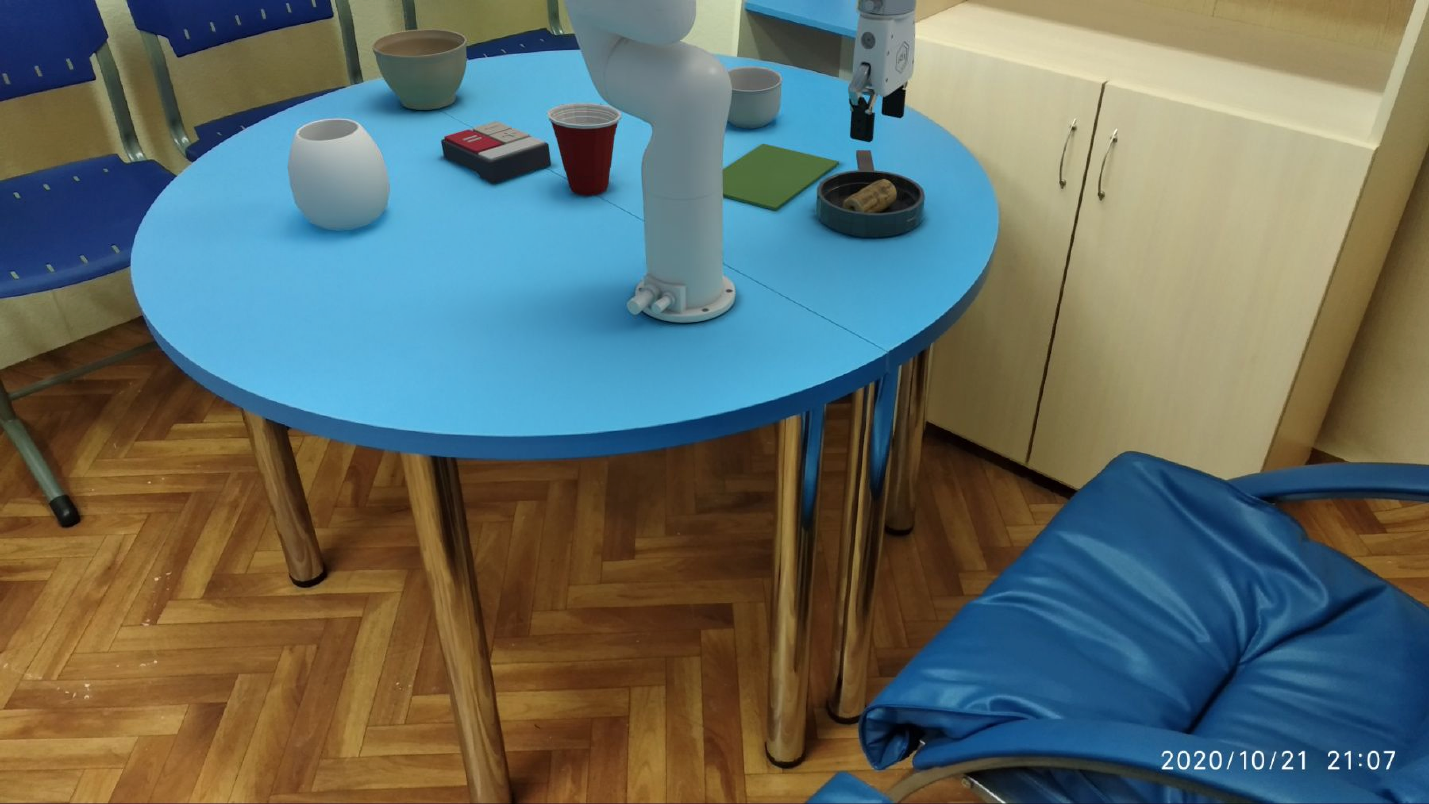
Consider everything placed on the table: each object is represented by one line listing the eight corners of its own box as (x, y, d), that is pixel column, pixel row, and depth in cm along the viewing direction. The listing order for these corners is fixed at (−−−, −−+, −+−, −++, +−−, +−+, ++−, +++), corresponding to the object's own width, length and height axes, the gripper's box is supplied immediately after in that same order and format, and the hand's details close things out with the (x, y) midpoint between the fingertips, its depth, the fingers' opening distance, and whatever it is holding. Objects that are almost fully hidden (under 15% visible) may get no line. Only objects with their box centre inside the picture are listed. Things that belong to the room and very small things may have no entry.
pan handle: (874, 178, 156) (874, 172, 156) (859, 178, 156) (859, 172, 156) (870, 156, 163) (870, 150, 162) (855, 156, 163) (856, 150, 163)
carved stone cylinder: (862, 226, 148) (864, 200, 146) (838, 217, 151) (840, 191, 148) (897, 208, 153) (900, 182, 151) (874, 199, 155) (876, 174, 153)
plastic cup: (640, 187, 160) (636, 110, 153) (587, 209, 154) (580, 131, 147) (593, 167, 166) (587, 93, 159) (539, 188, 160) (531, 112, 153)
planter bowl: (464, 118, 184) (455, 55, 178) (373, 118, 185) (360, 56, 178) (482, 87, 197) (474, 28, 191) (396, 87, 198) (385, 28, 191)
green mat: (775, 211, 153) (776, 207, 153) (695, 189, 159) (695, 186, 159) (839, 164, 167) (839, 161, 167) (763, 146, 173) (763, 143, 173)
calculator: (497, 118, 174) (549, 138, 165) (501, 143, 176) (552, 165, 167) (438, 135, 168) (488, 157, 159) (443, 161, 170) (493, 184, 161)
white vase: (281, 231, 149) (256, 140, 141) (340, 194, 159) (320, 107, 151) (358, 246, 145) (336, 153, 137) (413, 207, 155) (397, 119, 147)
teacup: (792, 118, 183) (793, 72, 178) (760, 138, 176) (761, 91, 171) (724, 104, 189) (724, 59, 185) (691, 122, 182) (690, 77, 177)
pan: (894, 248, 143) (897, 224, 141) (797, 222, 150) (798, 198, 148) (938, 207, 154) (941, 184, 152) (845, 184, 161) (847, 162, 158)
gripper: (884, 22, 127) (874, 155, 137) (940, -14, 139) (927, 112, 149) (829, 13, 130) (823, 144, 141) (888, -21, 142) (879, 102, 152)
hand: (877, 127), depth 145 cm, fingers open, 9 cm apart
